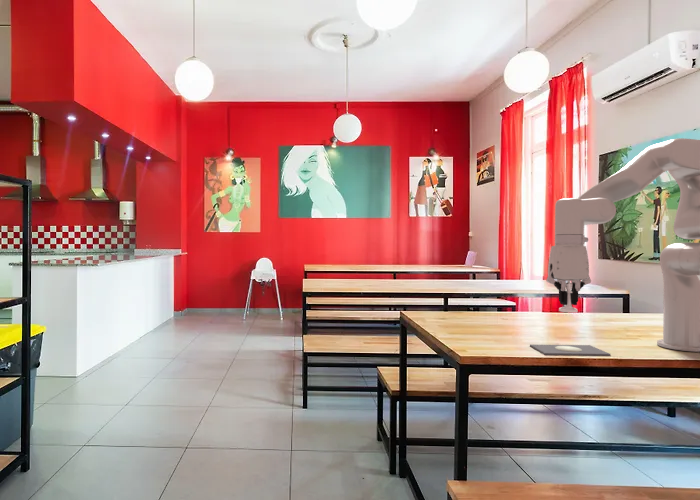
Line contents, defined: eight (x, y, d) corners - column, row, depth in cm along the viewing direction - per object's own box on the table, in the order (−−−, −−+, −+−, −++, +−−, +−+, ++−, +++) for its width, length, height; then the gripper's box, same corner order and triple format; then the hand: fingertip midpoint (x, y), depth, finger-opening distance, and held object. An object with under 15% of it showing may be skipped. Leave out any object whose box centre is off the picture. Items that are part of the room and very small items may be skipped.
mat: (589, 346, 132) (589, 344, 132) (610, 355, 121) (610, 353, 121) (529, 346, 133) (529, 344, 133) (544, 354, 122) (544, 352, 122)
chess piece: (580, 312, 124) (580, 277, 124) (561, 312, 125) (561, 277, 125) (574, 310, 129) (575, 276, 129) (556, 309, 130) (557, 276, 130)
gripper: (590, 241, 130) (589, 303, 130) (536, 241, 131) (535, 302, 131) (604, 241, 123) (603, 306, 123) (546, 240, 123) (545, 305, 123)
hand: (568, 304), depth 127 cm, fingers closed on chess piece
